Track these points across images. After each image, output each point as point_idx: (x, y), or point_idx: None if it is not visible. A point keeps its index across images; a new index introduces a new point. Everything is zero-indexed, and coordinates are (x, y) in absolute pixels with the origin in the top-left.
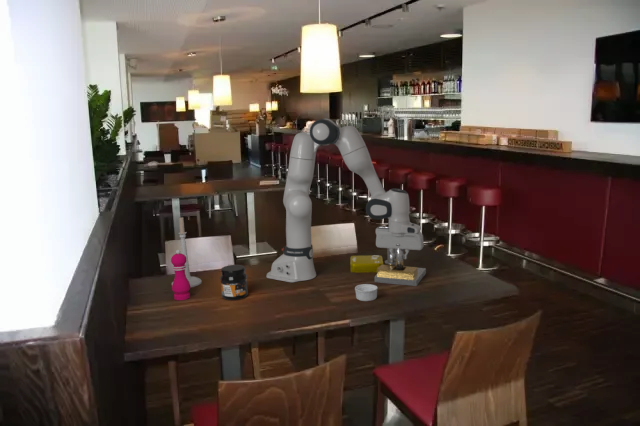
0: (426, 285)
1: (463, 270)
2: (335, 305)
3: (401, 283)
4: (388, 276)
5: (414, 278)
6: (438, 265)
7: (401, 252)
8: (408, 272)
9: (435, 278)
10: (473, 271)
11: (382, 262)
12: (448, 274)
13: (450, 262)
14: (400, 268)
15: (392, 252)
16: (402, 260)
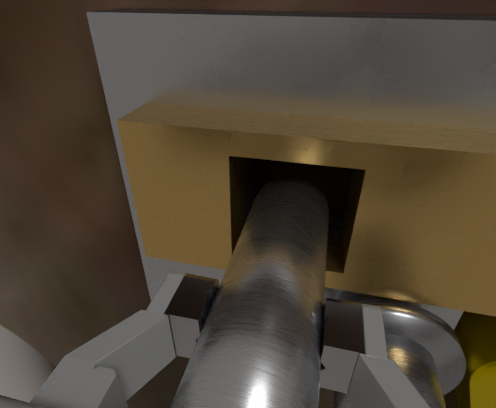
0: (63, 54)
1: (40, 326)
2: None
3: (249, 11)
4: (402, 78)
5: (128, 76)
6: (159, 380)
7: (194, 365)
8: (172, 121)
9: (86, 214)
10: (2, 316)
11: (477, 386)
12: (63, 279)
13: (131, 403)
14: (270, 194)
15: (383, 400)
16: (228, 266)
